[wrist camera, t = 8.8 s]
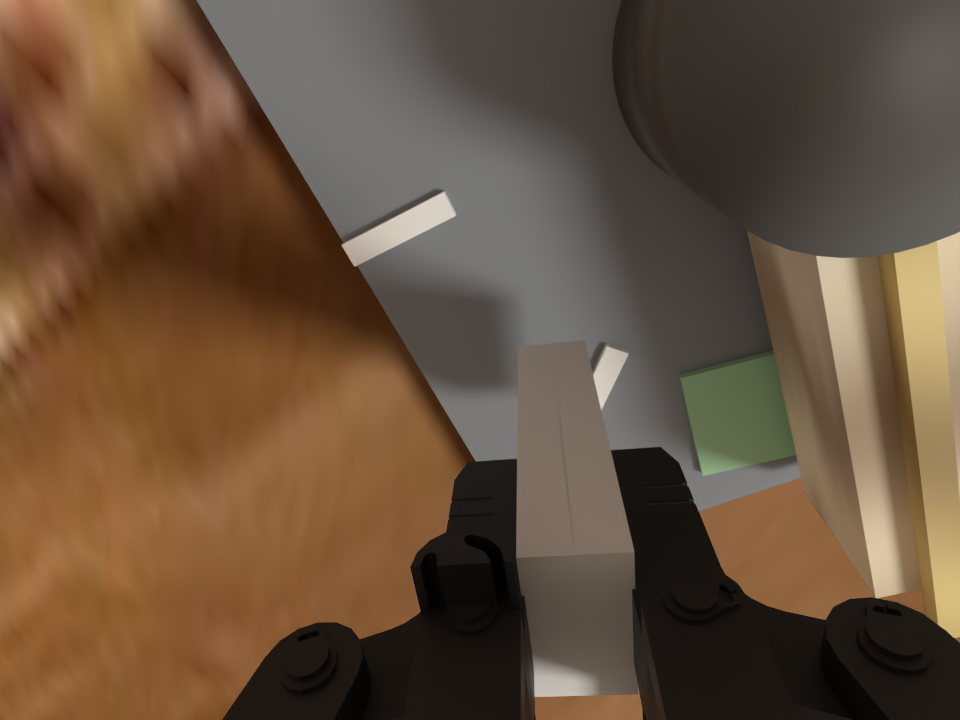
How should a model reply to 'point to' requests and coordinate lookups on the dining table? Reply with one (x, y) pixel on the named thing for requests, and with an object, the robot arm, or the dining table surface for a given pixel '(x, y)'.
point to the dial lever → (834, 240)
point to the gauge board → (522, 220)
